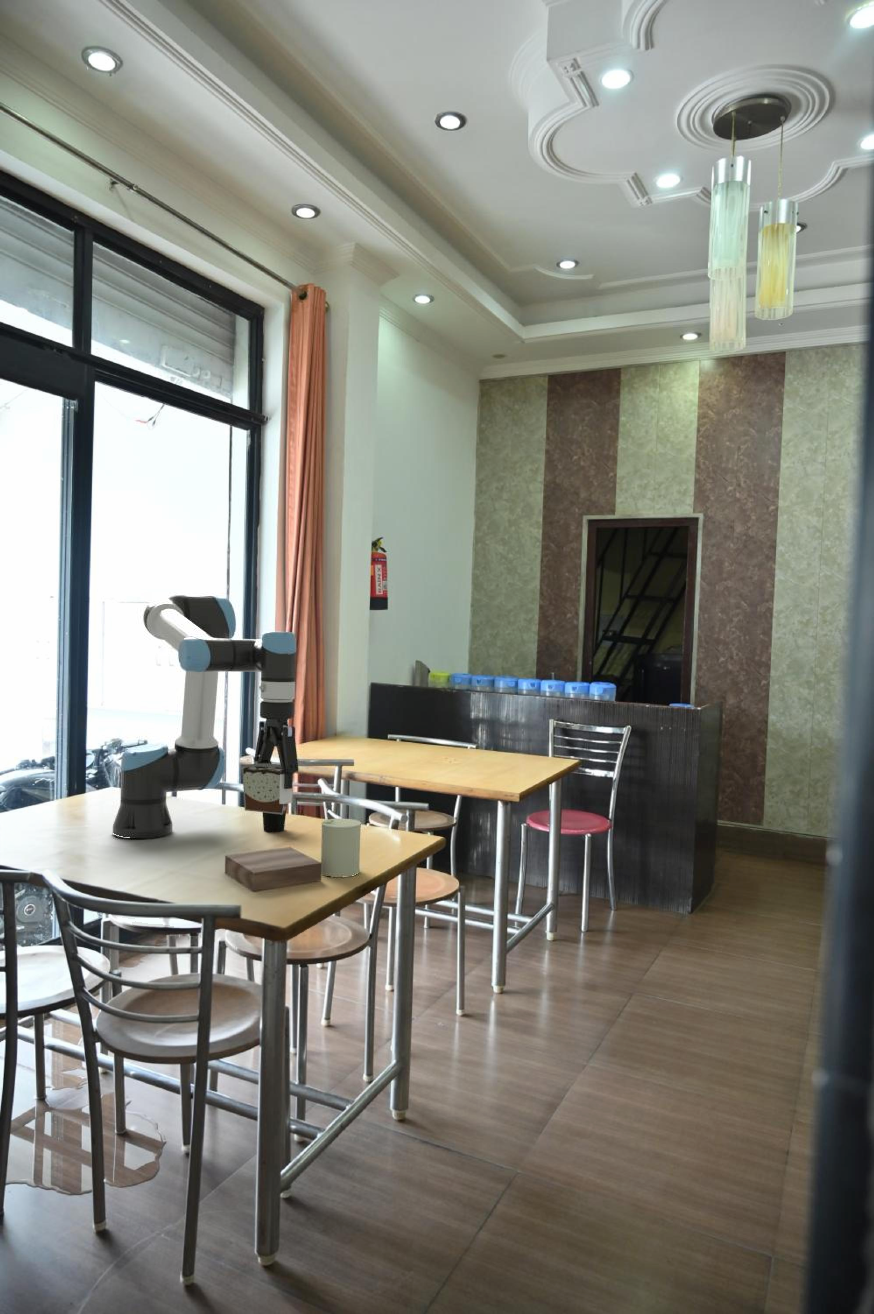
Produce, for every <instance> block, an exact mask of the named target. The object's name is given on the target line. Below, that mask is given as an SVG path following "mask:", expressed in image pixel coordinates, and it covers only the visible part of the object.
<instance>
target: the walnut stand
mask: <svg viewBox="0 0 874 1314" xmlns="http://www.w3.org/2000/svg"><path fill="white" fill-rule="evenodd" d="M224 861H225V862H224V874H226V875H227V876H229V877H230V878H231V879H233V880H234V881H236V882H237V883H239V884H241V885H242V886H244V887H246V888H247V889H249V890H250V891H252V892H258V891H259V892H260V891H264V890H271V889H272V890H273V889H278V888H286V887H290V886H291V885H292V886H296V884H298V885H303V883H304V884H310V883H315V882H314V881H317V882H320V881H319V880H321V881H322V874H321V861H318V860H316V859H315V858H312V857H310V856H309V855H306V854H305V853H303V852H301V851H299V850H297V849H295V848H294V847H293V848H292V847H290V846H288V847H280V848H271V849H265V850H264V849H263V850H257V851H255V850H254V851H248V852H241V853H231V854H225V859H224ZM309 882H310V883H309ZM292 886H291V887H292Z"/></svg>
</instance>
